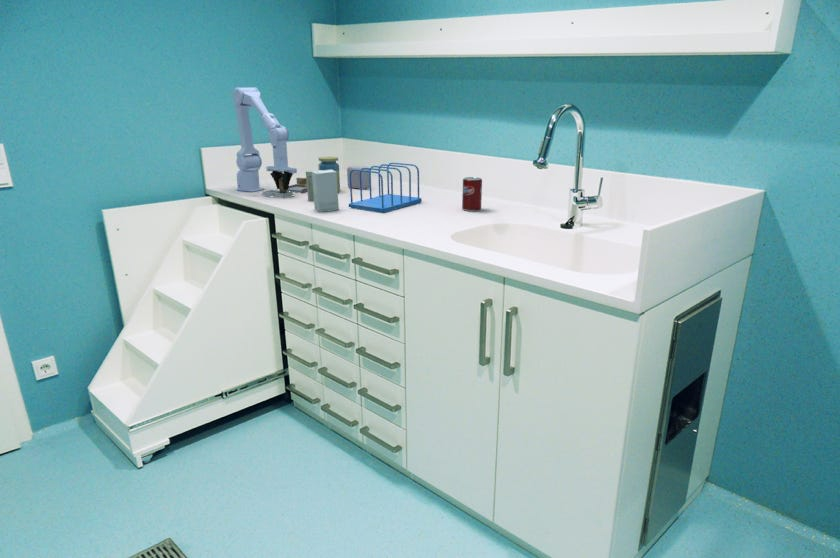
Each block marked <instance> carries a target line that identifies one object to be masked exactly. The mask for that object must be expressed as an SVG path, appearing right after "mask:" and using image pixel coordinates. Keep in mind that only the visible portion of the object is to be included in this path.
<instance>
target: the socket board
mask: <svg viewBox="0 0 840 558" xmlns="http://www.w3.org/2000/svg"><path fill="white" fill-rule="evenodd" d="M294 194H295V193H294V192H289V191H287V193H285V194H282V193H280V191H279V189H267V190H264V191H262V193H261V196H262V195H265V196H264V197H270V196H273V197H274V198H279V197H281V199H285V197H286V198H289V196H290V197H293V196H292V195H294ZM294 196H295V195H294ZM273 197H272V198H273Z"/></svg>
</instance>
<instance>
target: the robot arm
mask: <svg viewBox="0 0 840 558" xmlns="http://www.w3.org/2000/svg"><path fill="white" fill-rule="evenodd" d="M261 95H262V94H261V92H260V90H259V88H258V87H256V86H254V87H253V86H252V87H235V88H234V89H233V90H232V100H233V105H234V106H233V107H234V108H235V113H236V120H237V127H238V134H239V141H240V147H241V148H240V149H239V150H238V151H237V152H236V162H235V164H236V166H237V168H238V169H239V170H238V171H237V172H236V183H237V188H236V191H243V192H251V193H253V192H257V191H261V190H265V188H264V187H261V186H260V176H259V175H260V174H259V173H260V172H259V170H260V169H261V167H262V164H263V160H262V157H261V155H260V151H259V150H258V149H257V148H255V147H254V138H253V134H252V126H251V124H252V123H251V117H250V112H249V111H250V109H251V108H253V109H254V110H255V111H256V112H257V114H258V115H259V116H260V117H261V120H260V121H261V123H262V124H263V126H264V128H265V129H266V130H267V132H268V138H269V140H270V145H271V146H272V155H273V165H272V166H271V165H270V166H266V167H265V168H266V172H270V176H271V178H272V179H273V181H274V183H275V187H276V190H279V179H282V180H283V188H284V190H288V188H289V186H290V183H291V182H290V181H291V179H292V177H293V175H294V174H297V168H296V167H290V166H289V161H288V145H287V141H288V140H289V137H290V133H289V130H288V128H287V127H286V126H283V125H281V124H280V122H279V121H278V119H277V118H276V116H275V114H274V113H272V112H271V113H270V112H269V111H268V109H267V107H266V105H265V104H264V102H263V100H262V96H261Z"/></svg>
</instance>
